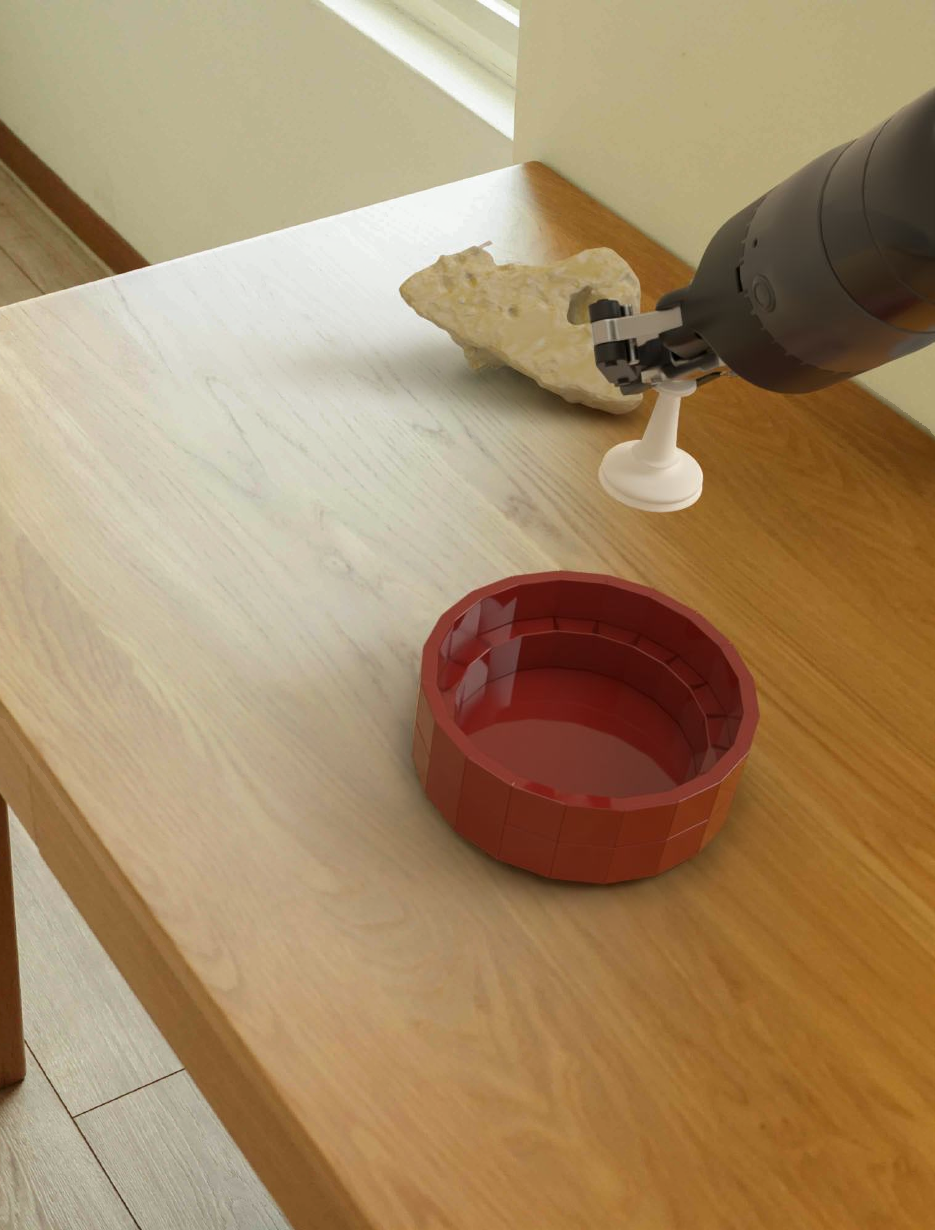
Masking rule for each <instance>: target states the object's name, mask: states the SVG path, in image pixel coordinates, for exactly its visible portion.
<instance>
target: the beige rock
mask: <svg viewBox="0 0 935 1230" xmlns="http://www.w3.org/2000/svg"><path fill="white" fill-rule="evenodd" d="M492 244H493V241H491V240H488V241H486V242H484V243H482V244H480V245H479V246H477V245H472V246H470V247H468V248H466V249H464V250H462V251H460V252H457V253H453V254H449V255H446V254H441V255H440V256H439V257H438V259H437V261H436V262H435V263H432V264H431V265H428V266H427V267H425V268H423V269H421V270H418V271H417V272H414V274H412V275H410V276H409V277H408V278H407V279H405V281H403V282H402V283H401V284H400V286H399V288H398V292H399V295H400V297H401V299H402V300H404V302H405V304H406V305H407V306H408V307H409V308H412V309H413V311H414V312H415V313H416V314H417V316H419V317H421V318H422V319H425V320H427V321H429V322H431V323H433V324H434V325H435V326H436V327H437V328H438V329H441V330H443V331H445V332H446V333H447V334H448V335H449V336H450V338H451V340H452V342H453V343H454V344H456V345H457V346H459V347H460V348H462V350H463V356H464V358H465V359H466V361H467V362H468V365H469V368H470V369H471V370H472V372H473V373H479V372H481V371H483V370H486V369H488V368H490V367H493V368H494V370H498V369H501V368H503V367H505V366H507V367H511V368H512V369H513V370H515V371H518V372H519V373H521V374H523V375H525V376H526V377H528V378H531V379H533V380H534V381H535V382H536V383H537V384H538V386H539V387H540V388H542V389H546V390H548V391H550V392H551V393H553V394H556V395H558V396H560V397H561V398H563V400H564V401H566V402H568V403H570V404H582V405H584V406H587V407H589V408H592V409H597V410H600V411H602V412H603V411H604V412H607V413H610V414H612V415H625V414H627V413H630V412H632V411H633V410H635V409H637V408H638V407H639V406H640V405H641V404H642V403H643V401H644V393H643V392H642V393H640V394H636V395H625V396H624V395H622V393H621V391H620V387H615V386H614V384H612V383H609V382H608V380H607V379H606V378H605V377H604V375H603V374H602V373H601V372H600V370H599V369H598V368H597V367H596V363H595V355H594V347H593V341H592V333H591V325H590V317H589V309H588V306H589V305H590V304H593V303H596V301H597V300H600V299H609V300H617V301H618V302H619V304H620V305H623V304H631V305H632V307H633V315H636V314H641V299H642V298H641V296H642V292H641V289H642V288H641V284H640V280H639V278H638V276H637V275H636V273H635V272H634V271H633V269H632V268H631V266H630V265H629V264H628V263H627V261H626V260H625V259H623V257H621V256H620V255H619V254H618V253H617V252H616V251H615V250H614V249H612V248H610V247H606V246H602V247H596V248H588V249H584V250H582V251H581V252H578V253H576V254H574V255H571V256H569V257H567V258H565V259H563V260H559V261H558V260H557V261H553V262H549V263H547V264H544V265H528V264H527V265H526V264H518V263H507V264H501V265H497V264H496V263H495V261H494V258H493V255H492V254H491V253H490V252H488V251H487V250H485V249H483V248H485V247H488V246H489V247H490V246H491V245H492Z"/></svg>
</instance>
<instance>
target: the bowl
mask: <svg viewBox="0 0 935 1230" xmlns="http://www.w3.org/2000/svg"><path fill="white" fill-rule="evenodd" d="M418 676H419V677H418V685H417V693H416V701H415V708H414V715H413V716H414V717H413V727H412V728H413V729H412V741H411V742H412V743H411V758H412V761H413V764H414V768H415V770H416V772H417V775H418V778H419V781H420V784H421V786H422V789H423V792H424V794H425V797H426V798H427V799H428V800H429V802H431V804H432V805H433V806H434V807H435V809H436V810H437V811H438V812H439V813H440V815H441V816H442V817H443V818H444V819H445V821H446V822H447V823H448V824H449V826H450V827H451V828H452V829H453V830H454V831H455V832H456V833H457V834H459V835H460V836H461V837H463V838H465V839H466V840H467V841H469V842H471V843H472V844H474V845H475V846H477V847H478V848H480V849H481V850H482V851H484V852H485V853H486V854H489V855H490V856H491V857H493V858H494V859H496V860H498V861H501V862H503V863H506V864H509V865H511V866H515V867H517V868H520V869H524V870H525V871H529V872H531V873H534V874H537V875H539V876H542V877H545V878H549V879H551V880H553V879H554V880H563V881H571V882H572V881H573V882H582V883H583V882H584V883H593V884H613V883H618V882H625V881H631V880H638V879H644V878H650V877H655V876H658V875H660V874H661V873H663V872H666V871H668V870H670V869H672V868H674V867H676V866H677V865H680V864H682V863H684V862H686V861H689V860H690V859H692V858H694V857H696V856H697V855H698V854H699V853H700V852H701V851H702V850H703V849H704V848H705V847H706V846H707V845H708V843H709V842H710V841H712V839H713V838H714V837H715V836H716V835H717V834H718V832H719V831H720V830H721V829H722V828H723V827H724V826H725V824H726V821H727V818H728V816H729V813H730V809H731V807H732V804H733V801H734V798H735V795H736V792H737V789H738V786H739V783H740V780H741V778H742V775H743V771H744V769H745V766H746V763H747V760H748V757H749V754H750V751H751V748H752V744H753V741H754V738H755V735H756V731H757V728H758V725H759V721H760V717H761V713H760V708H759V702H758V701H759V700H758V695H757V690H756V684H755V683H756V682H755V679H754V677H753V675H752V673H751V671H750V670H749V668H748V666H747V665H746V663H745V661H744V660H743V658H742V656H741V655H740V653H739V652H738V650H737V648H736V646H735V645H734V643H733V642H732V641H731V640H729V638H727V636H725V635H724V634H723V633H722V632H721V631H720V630H719V629H718V628H716V627H715V626H714V624H712V623H711V622H710V621H709V620H708V619H706V618H705V616H703V615H702V614H701V613H699V612H698V611H697V610H695V609H693V608H692V607H689V606H687V605H686V604H684V603H682V602H680V601H678V600H676V599H674V598H672V597H671V596H669V595H667V594H665V593H664V592H661V591H660V590H659V589H656V588H653V587H651V586H647V585H643V584H640V583H637V582H633V581H631V580H627V579H624V578H621V577H617V576H614V575H611V574H606V573H605V574H604V573H595V572H584V571H574V570H573V571H572V570H562V569H559V570H550V571H541V572H533V573H532V572H531V573H525V574H524V573H523V574H515V575H510V576H508V577H505V578H501V579H499V580H497V581H494V582H492V583H490V584H486V585H483V586H481V587H478V588H476V589H473V590H471V591H470V592H468V593H467V594H466V595H465V596H463V597H462V598H461V599H460V600H458V601H457V602H455V603H454V604H453V605H451V606H450V607H449V608H448V609H447V610H445V611H444V612H443V613H442V614H441V615H440V616H439V618H438V620H437V621H436V622H435V625H434V627H433V629H432V630H431V632H430V634H429V635H428V637H427V639H426V642H424V644H423V646H422V652H421V661H420V670H419V675H418Z"/></svg>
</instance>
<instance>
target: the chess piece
mask: <svg viewBox="0 0 935 1230" xmlns="http://www.w3.org/2000/svg"><path fill="white" fill-rule="evenodd" d="M651 389H653V390H654V391H655V392H657V393H658V396H657V399H656V402H655V405H654V407H653V410H652V413H651V415H650V418H649V420H648V423H647V426H646V428H645V431H644V434H643V436H642V438H641V439H634V440H627V441H623V442H621V443H619V444H616V445H614V446H612V447H611V448H610V449H609V450H608V451H607V452H605V454H604V456H603V458H602V461H601V464H600V466H599V468H598V480H599V483H600V485H601V487H602V488H603V490H604V491H605V492H606V494H608V495H609V496H611V497H612V498H613V499H614V500H616V501H618V502H620V503H621V504H622V505H626V506H627V507H630V508H633V509H636V510H640V511H644V512H648V513H649V512H651V513H672V512H678V511H681V510H684V509H687V508H689V507H690V506H693V505H694V504H695V503H696V502H697V501H698V500H699V498H701V495H702V492H703V482H704V474H703V470H702V468H701V466H700V464H699V463H698V462H697V460H696V459H695V458H694V457H693V456H691V455H690V454H689V453H688V452H686V450H683V449H681V448H679V447H677V437H678V427H679V426H678V425H679V417H680V416H679V415H680V407H681V399H682V398H685V397H688V396H690V395H693V394H694V393H695V392H696V390H697V389H698V387H697V385H696V380H683V381H668V380H665V381H663V382H662V383H660V384H658V385H656V386H654V387H652V388H651Z"/></svg>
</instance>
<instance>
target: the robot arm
mask: <svg viewBox="0 0 935 1230" xmlns="http://www.w3.org/2000/svg"><path fill="white" fill-rule="evenodd" d="M588 309H589V317H590V325H591V333H592V341H593V347H594V355H595V363H596V367H597V368H598V369H599V370H600V372H601V373H602V374H603V375H604V377H605V378H606V379H607V380H608V382H609V383H612V384H614V386H615V387H620V391H621V393H622V395H624V396H625V395H636V394H640V393H642V394H643V393H644V392H646V391H649V390H650V389H653V388H652V387H654V386H656V385H658V384H660V383H662V382H663V381H665V380H668V381H683V380H696V385H697V388H700V387H702V386H704V385H705V384H708V383H710V382H712V381H714V380H716V379H718V378H721V377H728V378H730V379H732V378H733V379H734V378H738V377H739V378H740V379H742V380H744V381H746V382H747V383H749V384H751V385H753V386H755V387H757V388H760V389H762V390H766V391H768V392H772V393H777V394H782V395H783V394H785V395H802V394H810V393H814V392H819V391H821V390H824V389H827V388H829V387H832V386H834V385H837V384H840V383H842V382H844V381H847V380H849V379H851V378H854V377H857V376H859V375H862V374H864V373H867V372H869V371H871V370H875V369H876V368H879V367H881V366H884V365H887V364H888V363H890V362H893V361H895V360H898V359H901V358H904V357H906V356H909V355H911V354H913V353H916V352H918V351H920V350H923V349H924V348H925V349H926V348H927V347H928V346H930V345H932V344H934V343H935V86H933V87H931V88H930V89H928V90H927V91H925V92H924V93H922V94H921V95H920V96H918V97H916V98H915V99H913V100H912V101H911V102H909V103H907V104H905V105H904V106H903V107H901V108H900V109H898V110H897V111H895V112H894V113H892V114H891V115H890V116H888V117H887V118H885V119H883V120H882V121H881V122H879V123H878V124H877V125H875V126H873V127H872V128H870V129H869V130H868V131H866V132H865V133H863V134H862V135H860V136H859V137H856V138H854V139H851V140H849V141H847V142H845V143H841V144H840V145H838V146H835V147H833V148H831V149H829V150H828V151H826V152H824V153H822V154H820V156H819V155H818V157H816V158H814V159H813V160H811V161H810V162H809V163H807V164H806V165H804V166H803V167H801V168H800V169H799V170H797V171H795V172H794V173H793V174H791V175H790V176H788V177H787V178H785V179H783V181H781V182H780V183H778V184H777V185H776V186H774V187H773V188H772V189H770V190H768V191H767V192H765V193H764V194H762V195H761V196H759V197H758V198H757V199H755V200H754V201H753V202H751V203H750V204H748V205H746V206H745V207H744V208H743V209H741V210H740V211H738V212H737V213H735V214H734V215H732V216H731V217H729V219H728V220H726V221H725V222H724V223H723V224H722V225H721V226H720V227H719V229H718V230H716V232H715V234H714V235H713V236H712V238H711V240H710V241H709V242H708V245H707V246H706V248H705V250H704V252H703V254H702V257H701V259H700V261H699V264H698V267H697V269H696V271H695V274H694V276H693V277H692V278H691V279H690V281H689V283H688V285H685V286H683V287H681V288H678V289H675V290H671V291H669V292H666V293H665V294H663V295H662V296H661V297H660V298H659V299H658V301H657V302H656V305H655V309H654V310H653V311H648V312H643V313H640V314H636V315H633V307H632V305H631V304H623V305H620V304H619V302H618V301H617V300H609V299H600V300H597V301H596V303H593V304H590V305H589V306H588Z"/></svg>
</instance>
